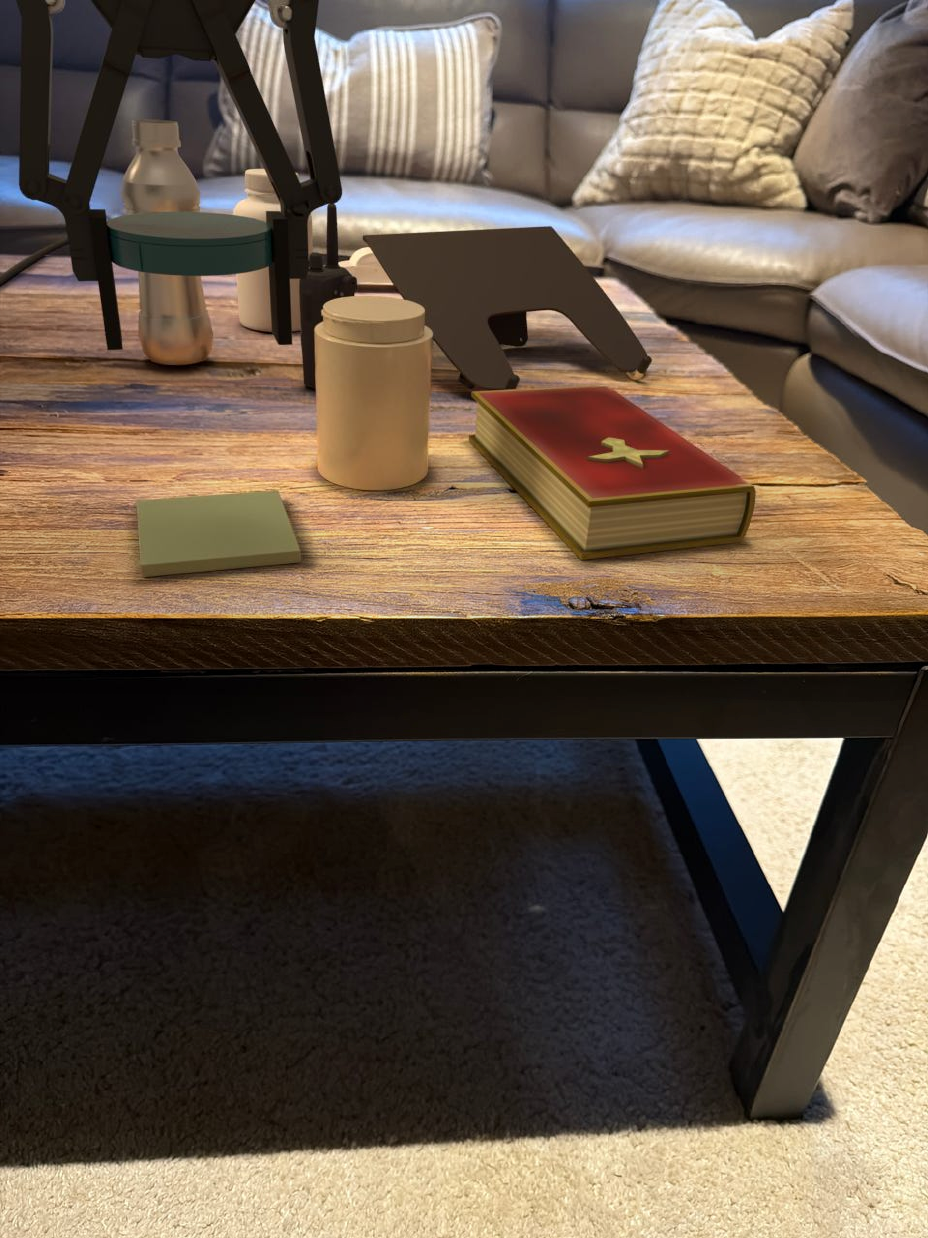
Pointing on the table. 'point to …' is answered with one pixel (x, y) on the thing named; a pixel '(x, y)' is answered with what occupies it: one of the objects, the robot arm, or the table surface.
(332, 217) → the two-way radio
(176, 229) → the jar lid
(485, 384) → the laptop tray
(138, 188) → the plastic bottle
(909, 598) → the table surface
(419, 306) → the jar
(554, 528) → the hardcover book
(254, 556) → the coaster
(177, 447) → the table surface
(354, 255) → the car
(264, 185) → the pill bottle
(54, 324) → the table surface
